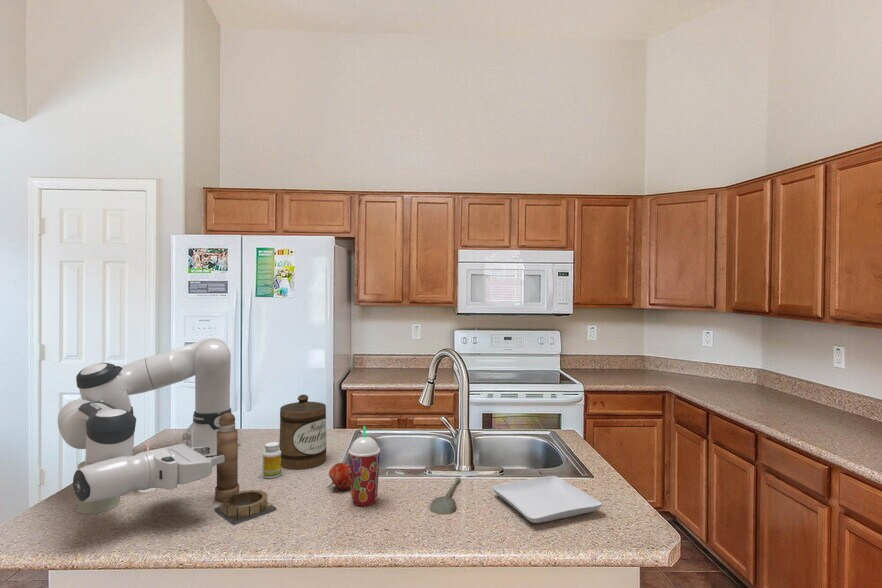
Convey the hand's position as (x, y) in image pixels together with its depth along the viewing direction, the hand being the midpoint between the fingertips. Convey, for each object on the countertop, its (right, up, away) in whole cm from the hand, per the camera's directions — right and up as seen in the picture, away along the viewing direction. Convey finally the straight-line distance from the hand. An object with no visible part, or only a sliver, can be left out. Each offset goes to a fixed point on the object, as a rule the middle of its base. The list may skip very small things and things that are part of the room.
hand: (215, 453), depth 128 cm
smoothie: (+39, -13, 0) cm, 42 cm away
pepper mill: (+2, -13, +3) cm, 13 cm away
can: (-29, -13, -3) cm, 32 cm away
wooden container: (+14, -13, +31) cm, 36 cm away
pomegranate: (+31, -13, +9) cm, 35 cm away
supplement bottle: (+8, -13, +18) cm, 24 cm away
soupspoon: (+62, -13, +3) cm, 64 cm away
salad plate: (+87, -13, -2) cm, 88 cm away
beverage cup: (-23, -13, +8) cm, 28 cm away
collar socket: (+10, -13, -5) cm, 17 cm away
